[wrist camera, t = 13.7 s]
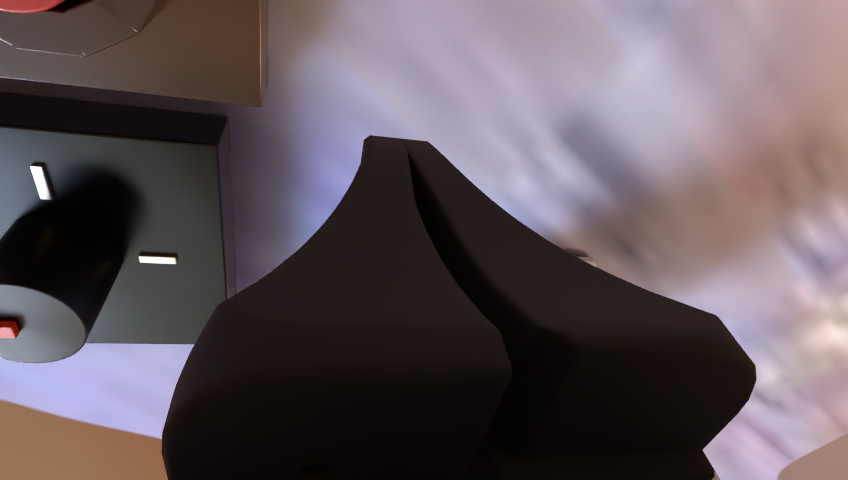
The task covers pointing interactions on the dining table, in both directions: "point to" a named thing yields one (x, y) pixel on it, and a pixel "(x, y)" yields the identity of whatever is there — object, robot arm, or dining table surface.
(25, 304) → the timer dial
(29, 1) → the power button
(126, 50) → the switch block
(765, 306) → the dining table surface
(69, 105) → the dial panel
